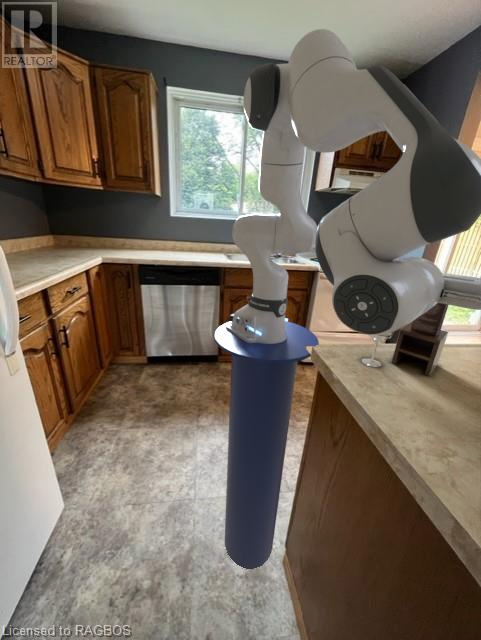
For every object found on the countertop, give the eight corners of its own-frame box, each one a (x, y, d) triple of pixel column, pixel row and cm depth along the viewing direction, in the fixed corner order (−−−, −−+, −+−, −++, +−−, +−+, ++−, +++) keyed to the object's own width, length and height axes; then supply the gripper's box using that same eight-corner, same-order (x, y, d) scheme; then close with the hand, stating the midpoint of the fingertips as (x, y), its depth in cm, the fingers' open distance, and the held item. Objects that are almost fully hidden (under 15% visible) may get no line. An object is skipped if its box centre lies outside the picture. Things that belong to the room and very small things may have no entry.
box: (440, 332, 71) (455, 287, 67) (435, 336, 68) (450, 289, 64) (414, 325, 75) (426, 282, 71) (409, 329, 72) (421, 284, 68)
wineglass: (353, 357, 77) (361, 317, 73) (374, 356, 78) (384, 317, 74) (367, 369, 71) (377, 326, 67) (390, 368, 72) (402, 326, 68)
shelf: (391, 362, 75) (400, 329, 71) (401, 353, 81) (410, 322, 77) (428, 376, 69) (440, 340, 65) (437, 365, 75) (448, 331, 71)
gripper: (508, 279, 33) (513, 269, 42) (346, 257, 46) (377, 253, 55) (489, 327, 35) (498, 308, 44) (339, 293, 48) (370, 284, 58)
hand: (429, 277), depth 50 cm, fingers open, 8 cm apart
